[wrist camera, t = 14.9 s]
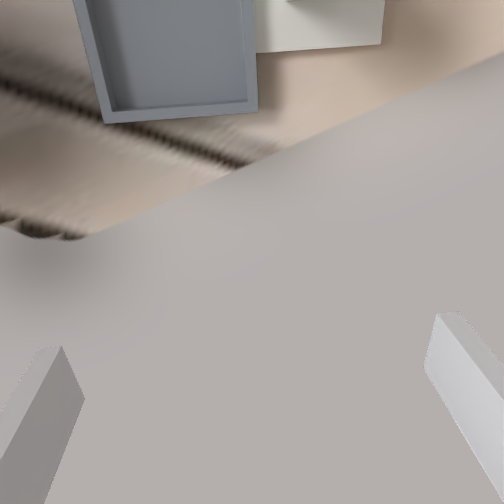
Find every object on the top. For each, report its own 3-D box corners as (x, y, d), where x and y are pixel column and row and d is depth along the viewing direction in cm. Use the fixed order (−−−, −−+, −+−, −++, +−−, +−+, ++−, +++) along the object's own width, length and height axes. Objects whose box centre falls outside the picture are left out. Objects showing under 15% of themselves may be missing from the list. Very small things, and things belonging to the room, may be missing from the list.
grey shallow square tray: (111, 118, 38) (104, 123, 36) (64, -73, 30) (52, -81, 28) (256, 107, 38) (258, 112, 36) (246, -84, 30) (248, -94, 28)
